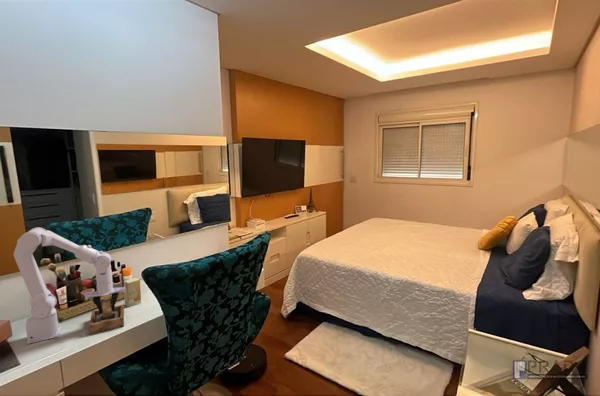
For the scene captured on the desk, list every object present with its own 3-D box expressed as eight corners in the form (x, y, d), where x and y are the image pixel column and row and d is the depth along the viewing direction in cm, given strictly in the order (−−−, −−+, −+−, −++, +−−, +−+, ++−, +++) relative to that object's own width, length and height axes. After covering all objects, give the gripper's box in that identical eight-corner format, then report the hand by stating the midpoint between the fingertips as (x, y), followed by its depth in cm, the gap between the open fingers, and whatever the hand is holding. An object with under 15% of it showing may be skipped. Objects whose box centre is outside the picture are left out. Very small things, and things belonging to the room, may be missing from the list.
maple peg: (102, 318, 130) (100, 302, 129) (102, 314, 133) (101, 299, 133) (112, 316, 132) (111, 300, 131) (113, 312, 135) (111, 297, 135)
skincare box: (128, 307, 147) (126, 283, 145) (124, 304, 149) (122, 281, 148) (142, 302, 152) (140, 279, 150) (137, 300, 155) (136, 277, 153)
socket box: (89, 334, 124) (89, 325, 123) (93, 319, 136) (92, 310, 135) (123, 326, 130) (123, 317, 129) (124, 312, 142) (123, 304, 141)
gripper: (82, 288, 124) (86, 319, 125) (123, 281, 131) (126, 310, 132) (84, 282, 130) (87, 312, 131) (124, 275, 137) (126, 304, 138)
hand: (107, 311), depth 132 cm, fingers closed on maple peg, 4 cm apart
